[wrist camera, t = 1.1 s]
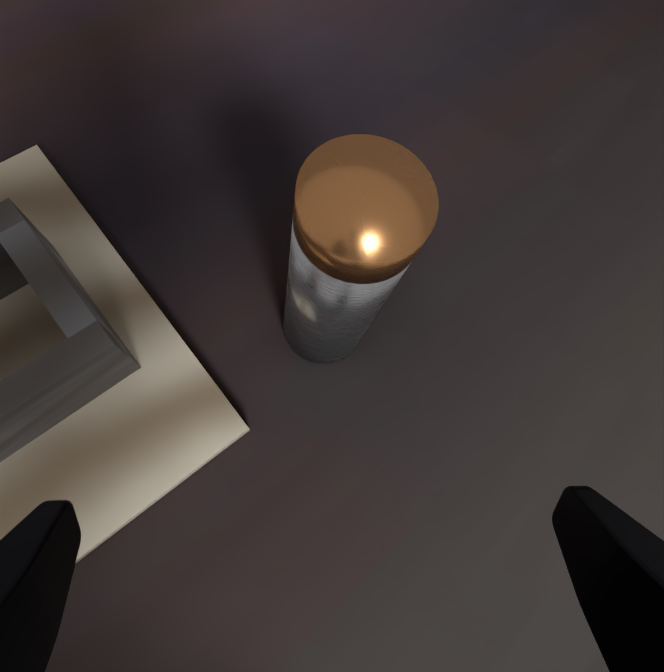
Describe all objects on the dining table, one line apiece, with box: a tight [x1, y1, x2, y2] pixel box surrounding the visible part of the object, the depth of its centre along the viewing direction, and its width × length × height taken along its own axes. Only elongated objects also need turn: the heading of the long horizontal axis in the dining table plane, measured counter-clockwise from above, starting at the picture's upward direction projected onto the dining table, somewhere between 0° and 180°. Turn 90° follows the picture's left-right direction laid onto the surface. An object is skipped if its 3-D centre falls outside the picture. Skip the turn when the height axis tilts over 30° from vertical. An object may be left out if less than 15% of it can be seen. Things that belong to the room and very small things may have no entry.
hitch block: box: [0, 145, 249, 564], centre depth 20 cm, size 18×12×5 cm, turn 39°
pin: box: [283, 134, 438, 364], centre depth 19 cm, size 4×4×12 cm
